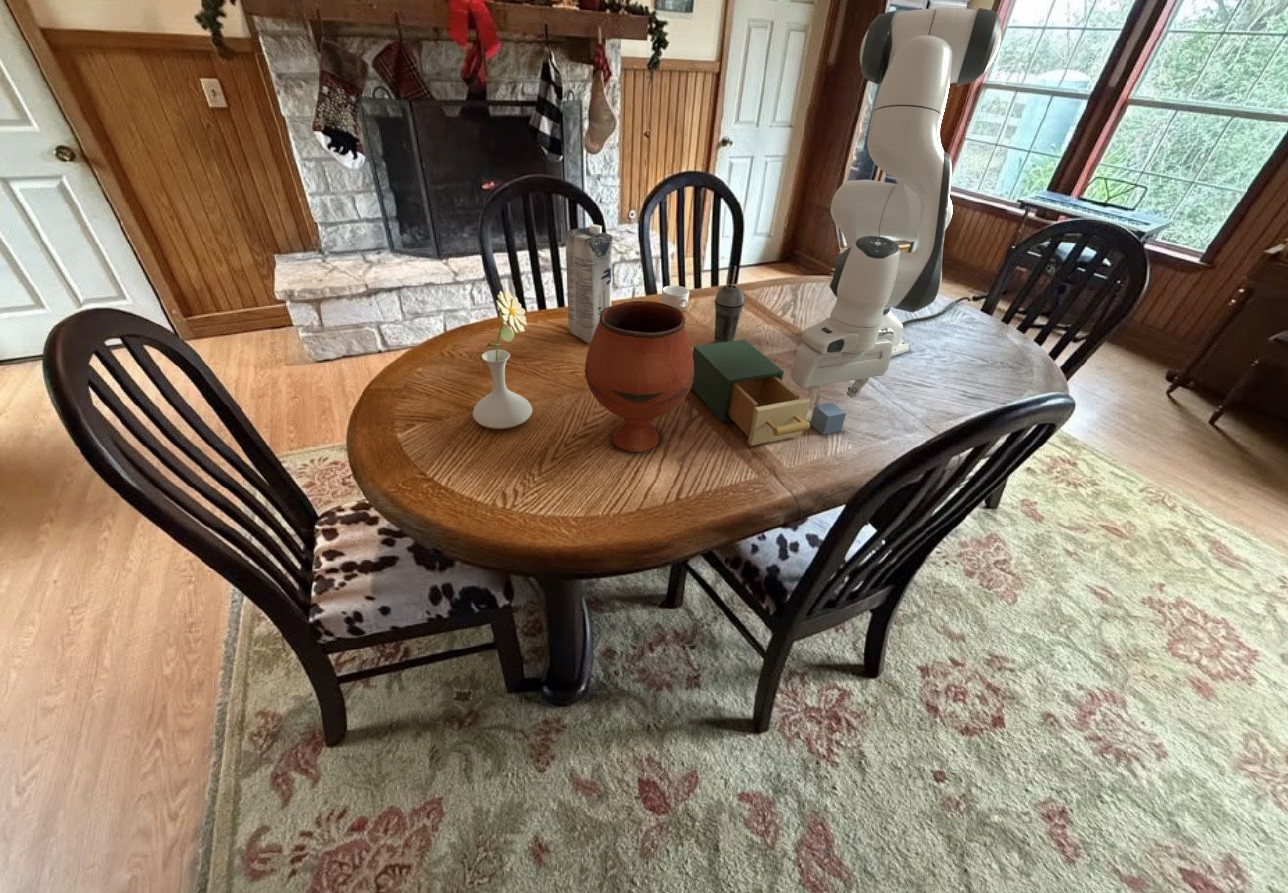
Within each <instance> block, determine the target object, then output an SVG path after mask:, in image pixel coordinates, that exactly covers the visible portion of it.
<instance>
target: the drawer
mask: <svg viewBox="0 0 1288 893" xmlns="http://www.w3.org/2000/svg"><path fill="white" fill-rule="evenodd" d="M807 398H808V397H805V398H800V395H799V394H797V393H796V391H794V390H793V389H792V388H791V387H789V385H787V384H786V383H785V382H784V381H783V380H782V381H781V380H780V379H779V378H778V377H776V376H773V377H766V378H760V379H754V380H748V381H742V382H736V383H732V384H731V390H730V397H729V403H728V409H727V414H728V415H729V417H730V418H731V419H732V420H731V421H733V422H734V423H735V424H736V425H737V426H738V427H739V429H740V430H741V431H742V432H743V433H744V435H746V436H747V437H748V440H747V443H748V445H750V446H751V447H752V446H756V445H762V444H767V443H770V442H775V441H781V440H785V439H789V438H794V437H801V436H802V435H803V432H804V431H808V430H810V428H811V424H810V421H808V420H807V417H808V412H809V408H810V405H811V404H810V400H809V399H807Z"/></svg>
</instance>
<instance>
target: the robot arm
mask: <svg viewBox="0 0 1288 893" xmlns="http://www.w3.org/2000/svg"><path fill="white" fill-rule="evenodd" d="M1001 21H1002V20H1001V17H1000V15H999V13H998V12H997V11H995V10H992V9H988V8H984V7H983V8H982V7H979V8H978V9H972V8H965V7H954V6H953V7H951V6H937V8H921V9H912V10H906V11H905V10H904V11H899V12H898V11H897V10H891V11H887V12H884V13H880V14H878V15H877V16H876V17H875V18H874V19H873V20H872V21H871V23H870V24H869V27H868V29H867V30H866V33H865V35H864V37H863V39H862V42H861V45H860V50H859V63H860V73H861V74H862V76H863V77H864V79H865V80H866V81H868V82H870V83H873V84H875V85H880V87H879V89H878V93H877V95H876V96H877V97H876V99H875V102H874V107H873V111H872V114H871V118H870V119H871V120H870V122H869V128H868V135H867V144H866V146H867V147H866V148H867V151H868V154H869V156H870V158H871V160H872V162H873V163H874V164H875V165H876V166H877V167H878V169H879V170H881V171H882V172H883V173H884V174H886V175H888V176H890V177H891V178H893V179H895V182H896V183H893V182H887V181H880V180H872V179H857V180H855V179H854V180H847V181H845V182H843V184H841V185H840V186H839V187H838V188H837V190H836V191H835V193H834V194H833V197H832V200H831V203H830V215H831V219H832V221H833V223H834V224H835V225H836V226H837V228H838V230H840V232H841V234H842V236H843V237H844V238H843V239H844V240H845V243H846V247H847V248H846V249H845V250H843V251H842V252H840V254H838V255H837V256H836V257H835V264H834V271H833V275H832V279H831V281H830V283H829V285H828V287H829V288H830V290H831V292H832V294H833V295H834V296H835V297H836V300H835V304H834V306H833V307H832V309H831V311H830V315H829V317H827V318H824V320H821V321H820V322H818V323H816V324H814V325H811V326H809V327H807V328H805V329H803V331H802V334H801V340H802V341H803V343H802V344H800V346H799V347H798V349H797V351H796V353H795V356H794V358H793V359H794V360H793V363H792V367H791V371H790V378H791V379H792V381H793V382H794V384H796V385H797V386H798V387H800V388H802V389H806V392H807V393H808V394H807V397H806V398H807V399H809V400H810V405H811V406H812V405H819V403H820V399H821V396H820V394H818V393H817V391H818V390H819V388H820V386H826V385H832V384H838V383H845V382H850V381H854V382H853V383H852V385H849V386H848V387H847V391H846V395H847V396H848V397H849V398H851V399H852V398H858V397H859V395H860V392H861V390H862V389H863V388H864V387H865V385H867V383H868V382H869V379H870V378H875V377H881V376H884V375H885V373H887V371H888V369H889V366H890V363H891V360H892V357H894V356H898V355H900V354H904V353H907V352H909V350H910V346H909V344H908V343H907V342H905V341H904V339H903V336H904V326H906V325H907V324H911V323H917V322H922V321H927V320H931V319H935V318H937V317H939V316H942V315H944V314H945V313H947V312H948V311H950V310H951V309H952V308H953V307H954V306H955V305H956V304H958V303H960V302H962V301H966V300H967V302H972V300H971V298H970V297H969V296H963V297H960V298H958V299H955V300H953V301H952V302H951V303H950V304H949V305H948V306H947V307H946V308H944V309H943V310H942V311H940V312H938V313H935V314H931V315H927V316H923V317H918V318H917V317H916V318H912V319H908V320H905V321H904V322H902V323H901V321H900V320H899V319H898V316H895V315H894V313H892V311H891V308H893V309H896V310H900V311H904V312H907V313H911V314H913V313H915V312H918V311H921V310H923V309H924V308H926V307H928V306H930V305H931V304H933V303H934V302H935V300H936V298H937V296H938V294H939V292H940V289H941V284H942V282H943V281H942V279H943V269H942V268H943V255H944V254H943V253H944V243H945V235H946V230H947V228H948V227H949V225H950V223H951V220H952V217H953V203H952V200H951V198H950V192H951V182H952V160H951V155H949V153H948V152H946V151H945V150H944V148H943V146H942V142H941V135H940V134H941V133H940V132H941V124H942V120H943V116H944V112H945V108H946V105H947V99H948V95H949V89H950V85H951V84H956V88H959V87H961V86H962V85H967V84H971V83H974V82H976V81H977V80H979V79H980V78H981V77H983V76H984V75H985V73H986V71H987V70H988V69H989V67H990V66H991V65H992V63H993V62H994V59H995V57H996V55H997V53H998V51H999V48H1000V44H1001V39H1002V27H1001ZM892 239H894V240H900V241H905V242H909V243H912V242H913V243H916V249H915V250H914V251H912V252H906V251H905V252H904V251H901V247H900V246H899V244H898V243H897V242H895V241H894V240H892Z"/></svg>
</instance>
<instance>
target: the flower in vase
mask: <svg viewBox="0 0 1288 893" xmlns="http://www.w3.org/2000/svg"><path fill="white" fill-rule="evenodd" d="M498 293H499V294H497V299H496V304H497V305H496V309H497V311H498V315H499V316H500V317H501V323H500V326H499V332H498V338H497V343H496V344H495V343H491V342H488V343H487V345H486V348H495V349H490V350H487V351H485V352H484V353H482V355H481V359H482V361H484V362H485V363H486V364H487V366H488V368H489V371H490V374H491V377H492V378H491V379H492V390H491V391H490V392H489V393H488V394H486V395H485V396H483V397H482V398H481V399H480V400H479V401H478V402H476V404H475V405H474V407H473V410H472V418H473V419H474V421H476V423H478V424H479V425H480V426H482V427H485V428H487V429H492V430H506V429H512V428H515V427H519V426H521V425H523V424H524V423H526V422H527V421H528V420H529V419H530V417H531V415H532V414H533V407H532V404H531V403H530V402H529V400H528V399H526V398H525V397H524V396H522V395H521V394H518V393H516V392H514V391H512V390H510V389H509V388H508V387H507V384H506V376H505V375H506V374H505V372H506V364H507V361H508V360H509V358H510V357H511V354H510V352H509V351H507V350H504V349H499V348H500V346H502V344H500V341H501V339H502V340H503V341H505V342H507V343H510V342H512V341H513V339H514V337H515V333H517V334H519V333H522V332H523V333H524V332H525V327H524V326H528V322H527V317H526V316H525V315H526V309H524V308H523V307H522V304H521V303H520V302H519V299H518V297H517V296H512V294H511V292H510V291H509V290H503V291H502V290H500V291H499V292H498ZM503 326H506V327H504V328H503Z"/></svg>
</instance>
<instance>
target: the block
mask: <svg viewBox="0 0 1288 893" xmlns="http://www.w3.org/2000/svg"><path fill="white" fill-rule="evenodd" d="M846 416H847V412H846V411H845V410H844V409H842V408H841V407H839V405H837V404H836V403H835V402H834V401H830V402H825V403H820V404H819V403H818V404H814V407H813V411H812V415H811V418H810V421H809V423H810V426H812V427H813V428H814V429H815V430H816V431H818V432H819V433H820V434H821V435H822V436H824V435H829V434H835V433H839V432H842V429H843V425H844V422H845V419H846Z"/></svg>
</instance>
